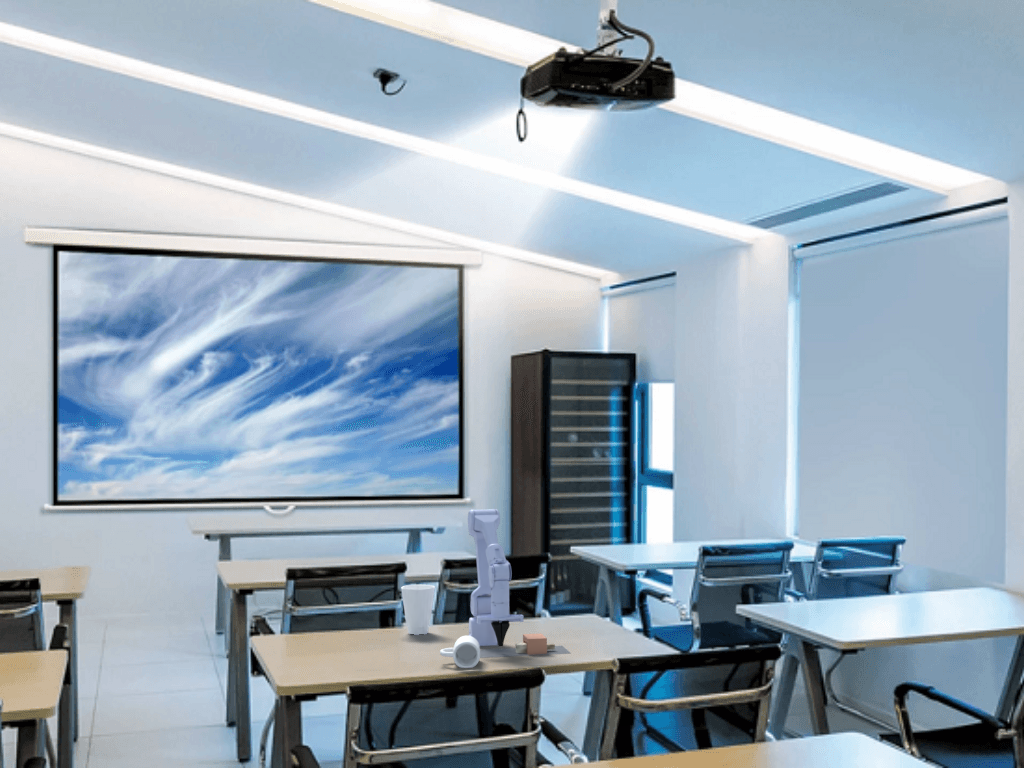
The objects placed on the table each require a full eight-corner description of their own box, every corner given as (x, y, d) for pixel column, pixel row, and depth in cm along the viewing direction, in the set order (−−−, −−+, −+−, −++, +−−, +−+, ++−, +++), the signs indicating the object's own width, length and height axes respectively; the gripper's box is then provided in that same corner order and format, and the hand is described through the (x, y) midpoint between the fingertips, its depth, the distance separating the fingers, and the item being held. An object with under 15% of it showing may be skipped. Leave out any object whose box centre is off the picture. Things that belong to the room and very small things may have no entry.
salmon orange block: (528, 654, 327) (528, 639, 327) (523, 649, 335) (522, 634, 335) (547, 653, 328) (546, 638, 328) (541, 648, 336) (541, 633, 336)
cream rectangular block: (517, 653, 329) (517, 644, 329) (515, 651, 332) (515, 643, 332) (555, 651, 331) (555, 643, 332) (553, 649, 334) (553, 641, 334)
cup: (398, 631, 370) (397, 585, 370) (431, 629, 373) (430, 583, 374) (404, 637, 358) (404, 590, 359) (438, 635, 362) (438, 588, 363)
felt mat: (469, 659, 323) (469, 658, 323) (464, 651, 334) (464, 650, 334) (571, 654, 329) (571, 653, 329) (562, 646, 340) (562, 645, 340)
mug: (480, 661, 320) (479, 635, 320) (480, 669, 310) (479, 641, 310) (440, 662, 320) (440, 635, 320) (439, 669, 310) (439, 642, 310)
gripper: (479, 605, 325) (479, 649, 324) (525, 603, 328) (525, 647, 327) (475, 601, 332) (475, 644, 331) (520, 599, 335) (521, 642, 334)
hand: (500, 645), depth 330 cm, fingers closed
